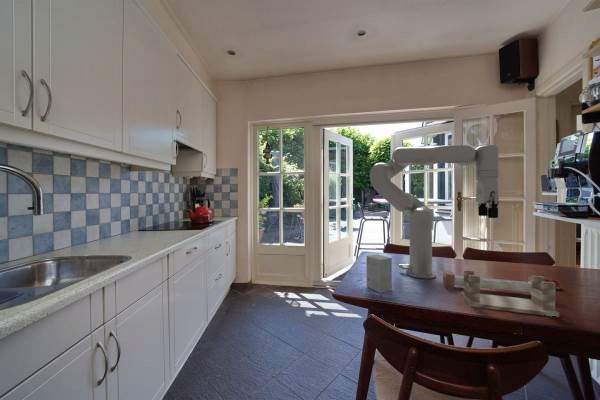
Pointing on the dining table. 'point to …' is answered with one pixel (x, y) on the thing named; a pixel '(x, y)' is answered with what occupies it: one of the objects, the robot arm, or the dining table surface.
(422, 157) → the robot arm
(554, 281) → the ladybug figurine
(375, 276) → the small box
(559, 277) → the dining table surface
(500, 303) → the hanger stand
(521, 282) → the steel bar
